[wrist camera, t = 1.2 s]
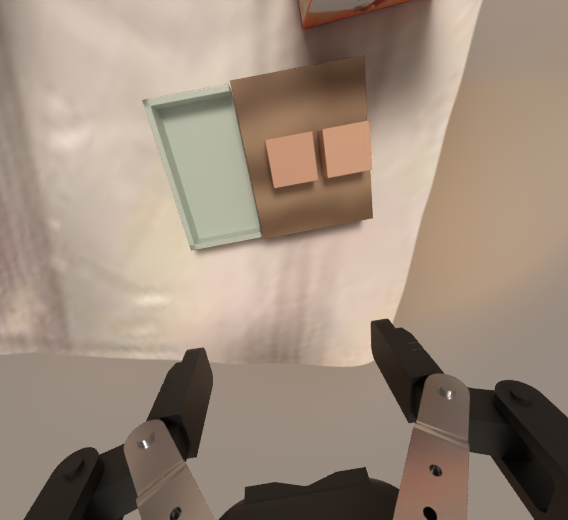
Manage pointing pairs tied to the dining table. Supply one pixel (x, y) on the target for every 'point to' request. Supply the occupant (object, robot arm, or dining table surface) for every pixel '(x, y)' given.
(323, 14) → the cracker box
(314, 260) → the dining table surface
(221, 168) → the tray
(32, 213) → the dining table surface
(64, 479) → the robot arm
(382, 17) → the dining table surface
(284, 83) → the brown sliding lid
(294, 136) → the tile
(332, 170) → the tile
